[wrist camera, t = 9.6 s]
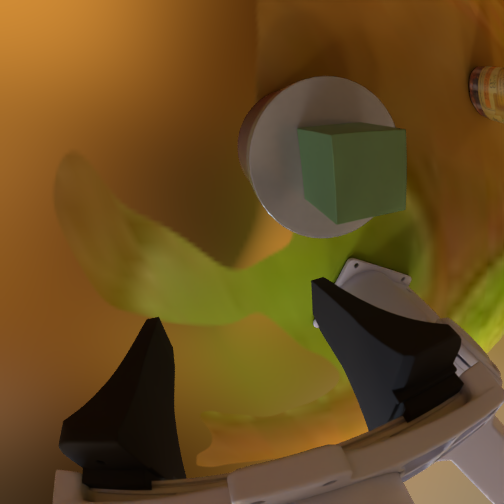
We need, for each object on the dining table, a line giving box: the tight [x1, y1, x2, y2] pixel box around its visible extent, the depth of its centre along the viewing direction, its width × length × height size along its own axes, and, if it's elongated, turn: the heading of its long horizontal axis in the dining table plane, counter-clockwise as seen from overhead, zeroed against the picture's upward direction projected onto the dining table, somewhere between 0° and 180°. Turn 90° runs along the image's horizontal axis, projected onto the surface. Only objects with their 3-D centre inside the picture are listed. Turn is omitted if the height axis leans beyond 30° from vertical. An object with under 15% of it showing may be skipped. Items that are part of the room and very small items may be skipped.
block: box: [297, 122, 407, 225], centre depth 14 cm, size 4×4×4 cm
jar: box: [238, 76, 395, 238], centre depth 18 cm, size 10×10×6 cm
